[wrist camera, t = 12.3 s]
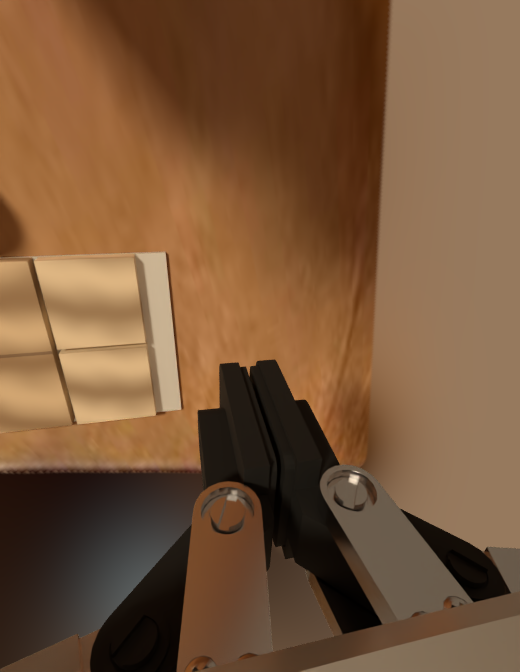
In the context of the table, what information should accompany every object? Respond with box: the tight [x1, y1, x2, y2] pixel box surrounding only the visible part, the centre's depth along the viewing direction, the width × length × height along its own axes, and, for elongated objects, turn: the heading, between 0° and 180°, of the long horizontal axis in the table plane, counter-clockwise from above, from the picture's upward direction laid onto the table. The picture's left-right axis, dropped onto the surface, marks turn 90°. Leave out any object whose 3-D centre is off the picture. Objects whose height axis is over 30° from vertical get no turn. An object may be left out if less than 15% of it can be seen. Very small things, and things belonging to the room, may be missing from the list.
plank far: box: [59, 342, 156, 424], centre depth 38 cm, size 8×8×1 cm
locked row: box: [0, 257, 75, 433], centre depth 35 cm, size 18×8×1 cm, turn 179°
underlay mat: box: [0, 252, 181, 422], centre depth 36 cm, size 18×20×1 cm
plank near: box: [34, 254, 146, 350], centre depth 34 cm, size 8×8×1 cm
